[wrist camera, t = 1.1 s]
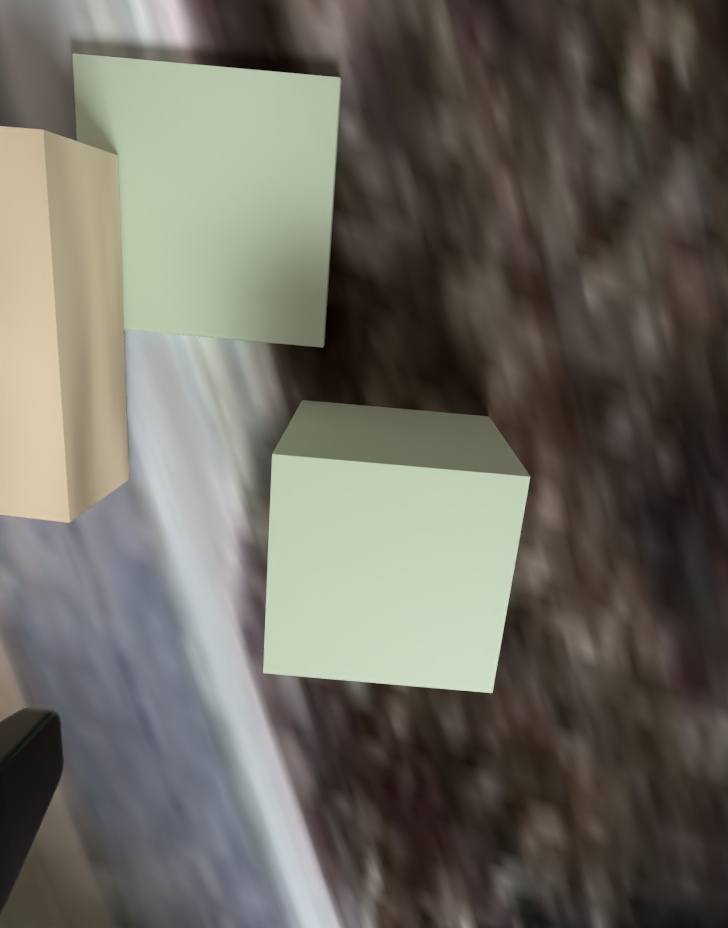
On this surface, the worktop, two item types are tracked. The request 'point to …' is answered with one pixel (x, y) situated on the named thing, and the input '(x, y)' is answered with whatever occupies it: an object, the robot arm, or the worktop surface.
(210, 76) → the sage swatch
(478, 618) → the sage cube
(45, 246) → the beech block
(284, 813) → the worktop surface
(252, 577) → the worktop surface
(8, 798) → the robot arm
